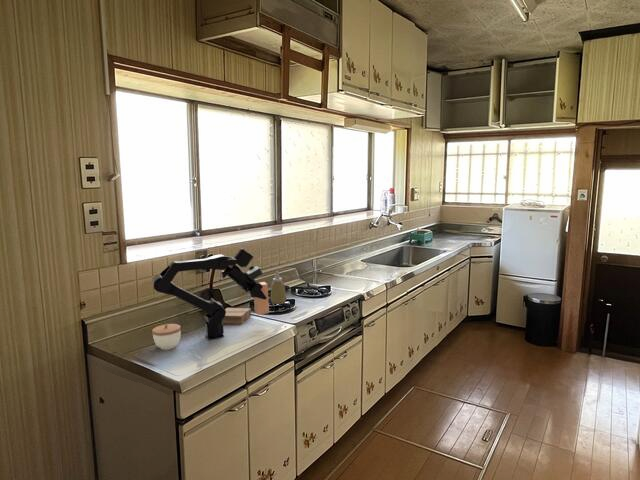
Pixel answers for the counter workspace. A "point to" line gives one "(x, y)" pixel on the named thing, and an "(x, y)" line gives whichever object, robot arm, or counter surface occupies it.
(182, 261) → the robot arm
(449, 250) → the counter surface
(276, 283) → the squeeze bottle
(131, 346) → the counter surface
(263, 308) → the tall terracotta block
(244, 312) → the walnut base block
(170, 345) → the lidded jar
